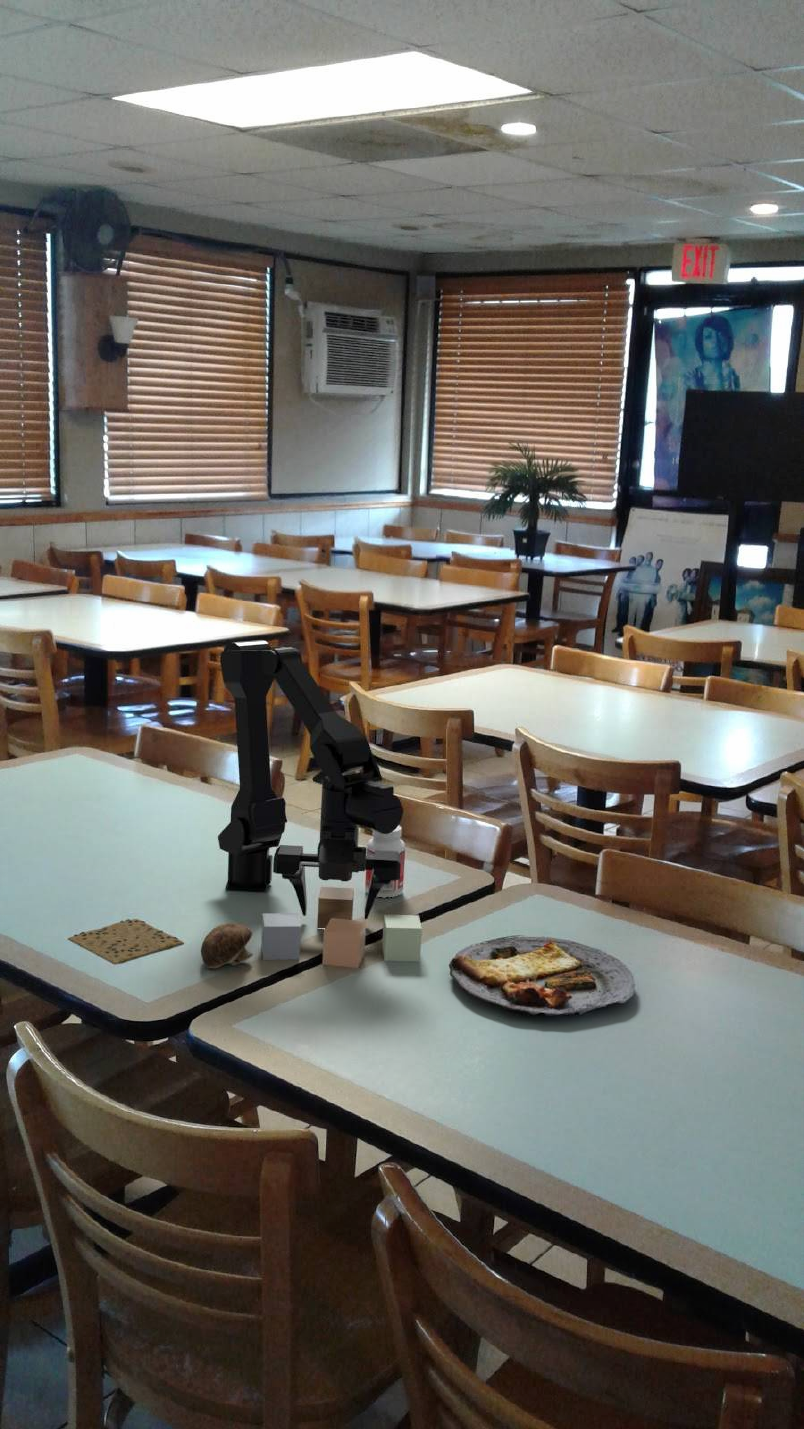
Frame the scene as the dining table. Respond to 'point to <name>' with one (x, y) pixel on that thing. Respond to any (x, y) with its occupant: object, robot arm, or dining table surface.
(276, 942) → the slate cube
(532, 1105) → the dining table surface
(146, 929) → the cookie
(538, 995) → the food plate
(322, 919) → the walnut cube
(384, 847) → the pill bottle
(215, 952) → the mushroom
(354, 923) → the terracotta cube
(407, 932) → the sage cube
